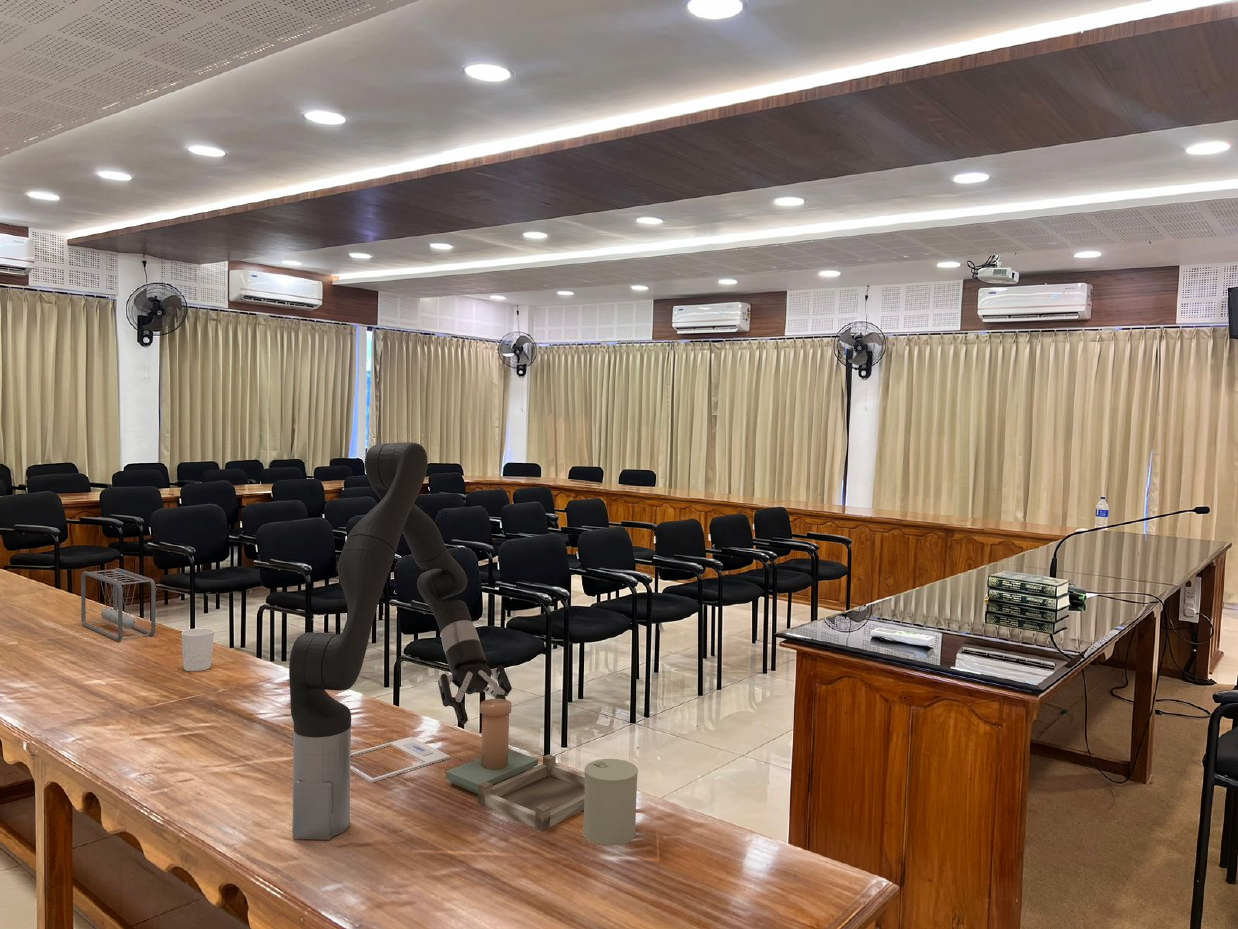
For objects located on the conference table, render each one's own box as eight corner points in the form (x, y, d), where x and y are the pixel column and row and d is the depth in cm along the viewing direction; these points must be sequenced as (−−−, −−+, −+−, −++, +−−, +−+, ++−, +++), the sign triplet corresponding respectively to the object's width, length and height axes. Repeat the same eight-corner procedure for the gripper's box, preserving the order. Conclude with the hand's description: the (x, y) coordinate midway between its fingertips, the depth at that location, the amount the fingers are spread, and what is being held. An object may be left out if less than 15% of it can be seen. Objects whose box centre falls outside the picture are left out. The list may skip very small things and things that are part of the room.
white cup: (181, 665, 236) (182, 629, 236) (213, 662, 239) (213, 627, 239) (180, 673, 229) (180, 636, 228) (213, 670, 232) (213, 634, 232)
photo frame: (450, 755, 178) (371, 779, 165) (449, 760, 178) (371, 785, 165) (411, 735, 188) (334, 757, 175) (411, 740, 188) (334, 762, 175)
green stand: (537, 774, 171) (538, 759, 171) (478, 800, 159) (478, 784, 158) (505, 762, 177) (505, 747, 177) (445, 786, 164) (445, 771, 164)
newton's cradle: (155, 637, 265) (156, 579, 264) (119, 643, 256) (119, 584, 256) (116, 620, 283) (116, 566, 283) (80, 625, 275) (80, 570, 274)
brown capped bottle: (507, 771, 165) (509, 709, 164) (476, 770, 165) (477, 708, 164) (512, 758, 171) (513, 699, 170) (482, 757, 171) (483, 698, 170)
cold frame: (611, 797, 162) (612, 776, 162) (542, 833, 147) (543, 810, 147) (548, 773, 172) (549, 754, 171) (477, 805, 156) (478, 784, 156)
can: (606, 817, 154) (608, 751, 153) (647, 834, 148) (649, 766, 147) (570, 836, 146) (573, 766, 146) (612, 854, 141) (614, 782, 140)
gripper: (435, 642, 173) (457, 715, 164) (499, 634, 181) (523, 703, 172) (425, 661, 178) (445, 734, 169) (488, 652, 186) (511, 721, 177)
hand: (485, 718), depth 171 cm, fingers open, 8 cm apart
